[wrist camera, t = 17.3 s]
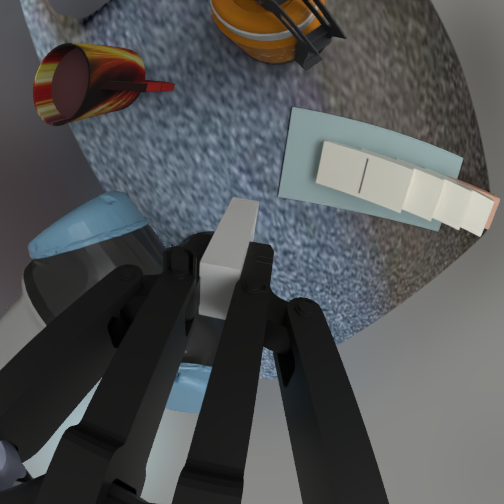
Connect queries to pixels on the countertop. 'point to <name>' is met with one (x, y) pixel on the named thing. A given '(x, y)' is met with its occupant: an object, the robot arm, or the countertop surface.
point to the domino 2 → (421, 191)
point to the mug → (89, 82)
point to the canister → (277, 28)
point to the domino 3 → (450, 201)
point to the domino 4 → (475, 210)
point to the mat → (358, 136)
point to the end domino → (492, 196)
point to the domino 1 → (364, 175)
